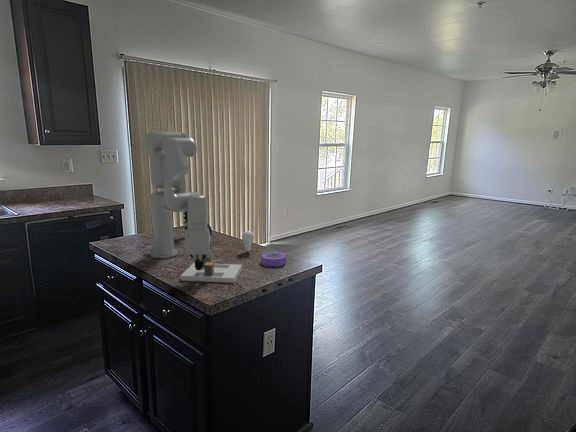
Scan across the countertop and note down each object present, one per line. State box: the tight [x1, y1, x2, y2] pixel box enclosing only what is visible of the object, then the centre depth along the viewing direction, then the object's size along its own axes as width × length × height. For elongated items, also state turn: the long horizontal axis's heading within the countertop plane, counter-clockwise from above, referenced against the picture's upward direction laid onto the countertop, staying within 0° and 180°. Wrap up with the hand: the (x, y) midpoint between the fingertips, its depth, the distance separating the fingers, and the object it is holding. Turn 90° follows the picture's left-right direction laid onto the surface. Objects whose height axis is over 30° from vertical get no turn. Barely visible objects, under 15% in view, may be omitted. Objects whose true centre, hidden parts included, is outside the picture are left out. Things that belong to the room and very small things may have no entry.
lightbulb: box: [241, 230, 255, 253], centre depth 185 cm, size 6×6×11 cm
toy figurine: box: [183, 211, 213, 237], centre depth 204 cm, size 9×19×25 cm
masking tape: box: [260, 251, 287, 268], centre depth 170 cm, size 12×12×4 cm
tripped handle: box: [204, 261, 215, 275], centre depth 148 cm, size 3×3×4 cm
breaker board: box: [180, 262, 243, 284], centre depth 154 cm, size 22×16×2 cm
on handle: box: [203, 255, 212, 266], centre depth 158 cm, size 3×3×4 cm
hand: (199, 269), depth 148 cm, fingers closed
